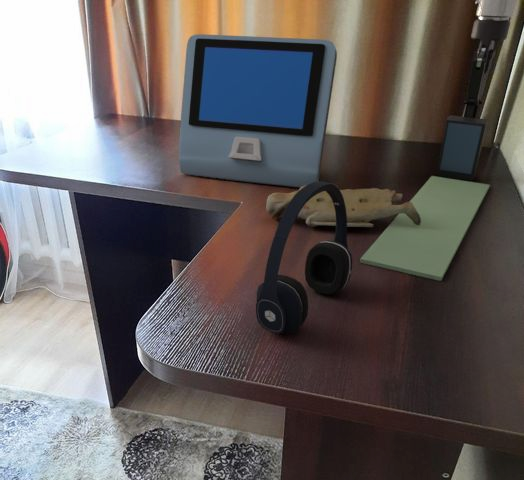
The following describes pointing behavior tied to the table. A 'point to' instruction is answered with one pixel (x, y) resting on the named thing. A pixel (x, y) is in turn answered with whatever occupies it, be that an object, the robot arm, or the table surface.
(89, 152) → the table surface
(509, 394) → the table surface
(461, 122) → the black device
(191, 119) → the touchscreen device
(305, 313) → the headphones
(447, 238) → the green mat
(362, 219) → the statue
